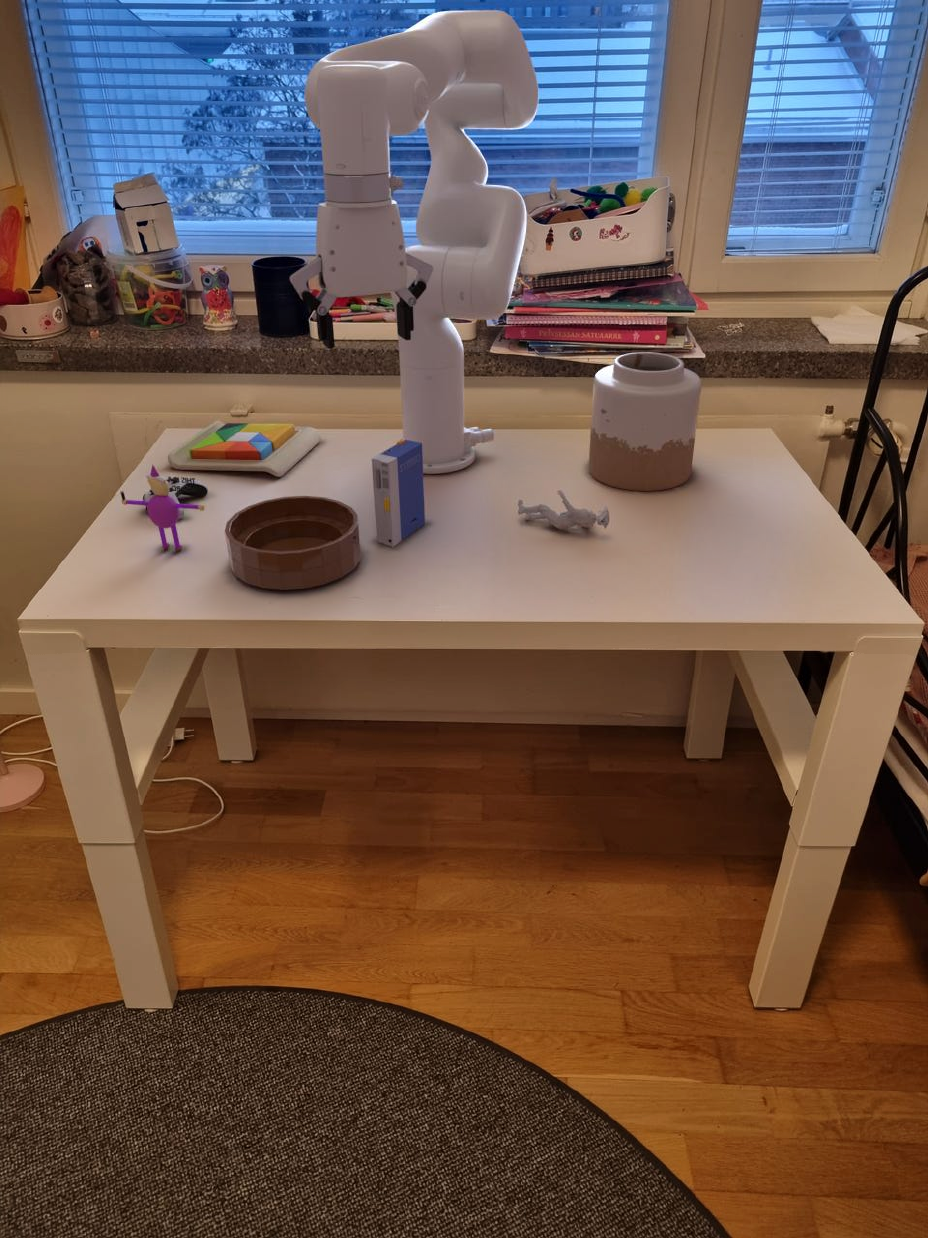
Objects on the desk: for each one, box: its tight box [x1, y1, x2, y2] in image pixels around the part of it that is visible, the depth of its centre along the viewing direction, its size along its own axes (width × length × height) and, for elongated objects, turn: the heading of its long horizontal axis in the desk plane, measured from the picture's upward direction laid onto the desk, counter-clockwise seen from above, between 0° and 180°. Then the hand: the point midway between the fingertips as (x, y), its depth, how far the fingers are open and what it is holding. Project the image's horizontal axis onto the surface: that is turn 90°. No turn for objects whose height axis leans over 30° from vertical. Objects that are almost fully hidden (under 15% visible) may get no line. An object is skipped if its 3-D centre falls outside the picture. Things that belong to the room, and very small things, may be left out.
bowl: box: [224, 495, 362, 591], centre depth 121 cm, size 16×16×6 cm
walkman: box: [371, 438, 426, 548], centre depth 126 cm, size 8×3×12 cm, turn 149°
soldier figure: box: [517, 490, 610, 531], centre depth 129 cm, size 8×5×12 cm
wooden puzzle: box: [167, 420, 322, 478], centre depth 153 cm, size 18×19×4 cm
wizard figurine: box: [119, 464, 205, 552], centre depth 122 cm, size 11×3×12 cm, turn 79°
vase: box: [588, 351, 702, 492], centre depth 142 cm, size 15×15×17 cm
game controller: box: [142, 477, 209, 520], centre depth 137 cm, size 10×5×6 cm
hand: (366, 341), depth 118 cm, fingers open, 9 cm apart
